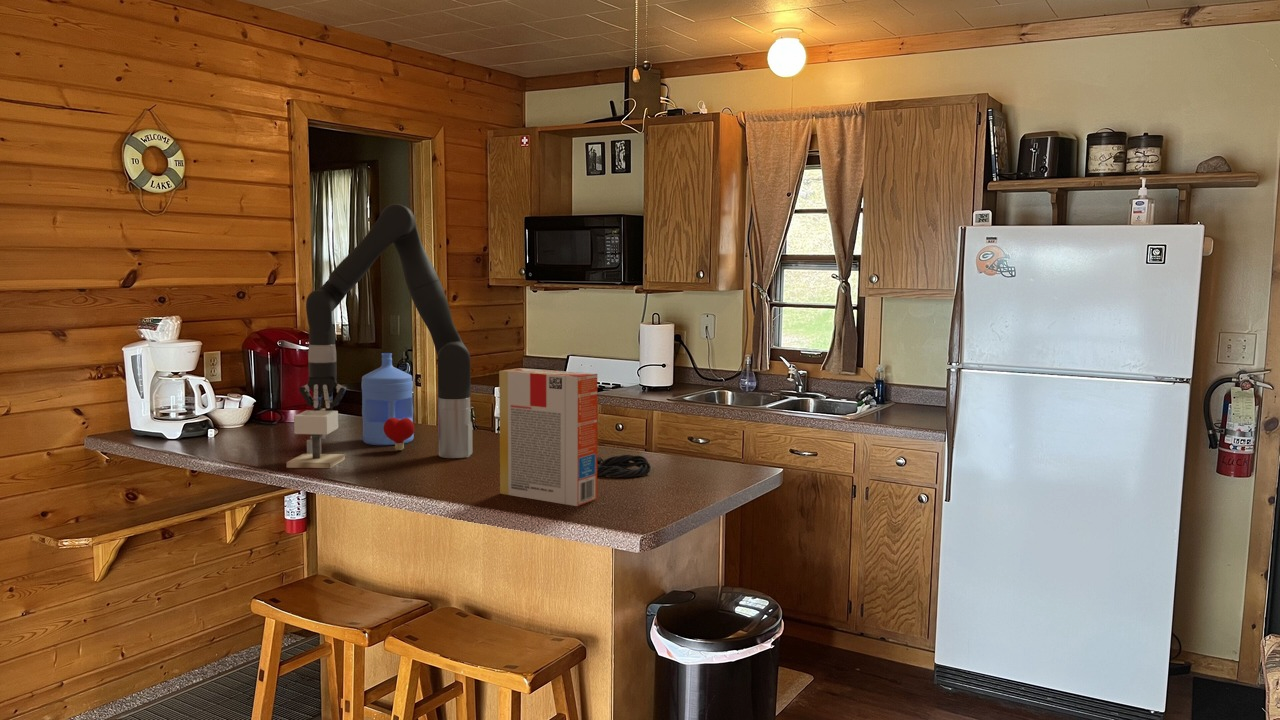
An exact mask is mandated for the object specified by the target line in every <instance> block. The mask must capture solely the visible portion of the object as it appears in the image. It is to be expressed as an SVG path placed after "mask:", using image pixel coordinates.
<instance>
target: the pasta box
mask: <svg viewBox="0 0 1280 720" xmlns="http://www.w3.org/2000/svg"><path fill="white" fill-rule="evenodd" d="M498 373H499V375H498V377H499V383H498V384H499V387H498V389H499V394H498V395H499V494H501V495H507V496H513V497H518V498H519V497H520V498H526V499H531V500H538V501H544V502H549V503H550V502H551V503H556V504H561V505H567V506H574V507H579V506H582V505H585V504H587V503H591V502H593V501H595V500H598V475H597V457H598V373H591V372H578V371H567V370H566V371H564V370H552V369H551V370H550V369H539V368H538V369H537V368H523V367H520V368H519V367H518V368H510V369H504V370H499V372H498Z"/></svg>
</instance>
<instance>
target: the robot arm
mask: <svg viewBox="0 0 1280 720" xmlns="http://www.w3.org/2000/svg"><path fill="white" fill-rule="evenodd" d="M392 244H393V245H394V247H395V249H396V251H397V253H398V256H399V259H400V264H401V267H402V273H403V278H404V281H405V283H406V287H407V290H408V293H409V294H410V296H411V300H412V301H413V304H414V307H415V308H416V311H417V312H418V314H419V315H420V318H421V320H422V321H423V323H424V324H425V326H426V328H427V330H428V331H429V334H430V336H431V338H432V342H433V346H434V349H435V352H436V357H437V406H438V407H437V410H438V411H437V412H438V413H437V415H438V416H437V417H438V420H437V422H438V423H437V424H438V426H437V427H438V429H437V430H438V457H440V458H443V459H444V458H445V459H462V458H470V456H471V455H473V422H472V421H471V385H472V384H471V383H472V382H471V379H472V378H471V373H472V372H471V354H470V351H469V350H468V348H467V347H466V345H465V344H464V342H463V340H462V338H461V336H460V334H459V332H458V331H457V329H456V326H455V324H454V321H453V316H452V314H451V310H450V306H449V302H448V299H447V297H446V296H447V295H446V293H445V289H444V287H443V285H442V283H441V280H440V278H439V276H438V274H437V272H436V270H435V267H434V264H433V263H432V261H431V259H430V258H429V256H428V254H427V252H426V250H425V248H424V245H423V243H422V240H421V236H420V234H419V229H418V226H417V222H416V218H415V215H414V212H413V211H412V210H411V209H410V208H409V207H407V206H405V205H403V204H399V203H392V204H389V205H388V206H386V207H385V208H383V209H382V211H381V213H380V214H379V217H377V220H375V223H374V224H373V226H372V227H371V229H370V230H368V233H367V234H366V235H365V236H364V237H363V239H362V240H361V241H360V242H359V243H358V244H357V245H356V246H355V248H353V249H352V250H351V251H350V252H349V253H348V254H347V255H346V256H345V257H344V259H342V260H341V262H340V263H339V264H338V265H337V266H336V267H335V268H334V270H332V271H331V273H330V274H329V275H328V278H327V280H326V281H325V282H324V284H323V285H322V286H321V287H320V288H319V289H316V290H313V291H311V292H310V293H309V294H308V295H307V298H306V301H305V311H306V316H307V317H306V318H307V325H308V343H309V344H308V354H307V355H308V356H307V360H308V379H307V382H306V383H307V384H305V385H303V386H300V387H299V388H298V389H299V392H300V394H301V396H302V398H303V400H304V401H305V403H306V404H307V406H308V407H313V409H314V410H315V411H319V410H321V409H323V408H322V407H321V406H322V399H323V398H324V401H325V403H324V404H325V408H326V409H325V411H333V408H334V407H337V406H339V404H340V403H341V401H342V399H343V398H344V396H345V393H346V391H347V389H348V387H347V386H343V385H341V384H339V381H338V379H337V378H338V377H337V374H338V373H337V368H338V367H337V349H336V331H335V329H336V328H335V326H334V325H333V317H332V316H333V315H332V313H333V311H335V309H336V308H337V307H338V306H339V305H340V303H341V302H342V301H343V300H344V298H345V297H346V295H347V294H348V292H350V290H352V289H353V288H354V287H355V286H356V285H357V283H358V282H360V281H361V279H362V278H363V277H364V275H365V274H367V272H368V271H369V270H370V268H371V267H372V265H374V263H375V262H376V261H377V259H378V258H379V257H380V255H381V254H382V253H383V252H384V251H385V250H386V249H387V248H388V247H389V246H390V245H392ZM365 276H366V275H365ZM310 390H311V392H312V393H313V396H312V395H311V393H310ZM335 390H336V393H337V394H336V396H335V397H334V396H333V393H334V392H335Z"/></svg>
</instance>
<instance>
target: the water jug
mask: <svg viewBox="0 0 1280 720" xmlns="http://www.w3.org/2000/svg"><path fill="white" fill-rule="evenodd" d="M392 355H393V353H391V352H384V353H383V352H382V353H381V365H380V367H378V368H376V369H374V370H372V371H370V372H368V373H366V374H364V375H363V376H362V377H361V395H362V396H361V397H362V398H361V399H362V400H361V403H362V405H361V407H362V408H361V415H362V441H363V443H365V444H366V445H371V446H372V445H373V446H395V442H394V441H393V440H391V439H390V438H388V437H387V436H386V435H385V433H384V424H385V422H386V421H387V420H388V419H390V418H397V419H399V420H401V419H404V418H408V419H410V420H411V421H412V422H413V423H414V406H413V405H414V403H413V389H414V386H413V385H414V384H413V375H411V374H410V373H407V372H406V371H403V370H402V369H399V368H397V367H394V365H393V358H392ZM414 434H415V432H414V433H413V435H412V436H411V437H410V438H408V439H406V440H404V441H403V442H404V444H408V443H411V442H412V441H413V440H414V438H415V437H414V436H415V435H414Z"/></svg>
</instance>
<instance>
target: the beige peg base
mask: <svg viewBox="0 0 1280 720" xmlns="http://www.w3.org/2000/svg"><path fill="white" fill-rule="evenodd" d="M320 435H321V434H310V436H312V454H307V453H302V454H300V455H298V456H295V457H294V458H292V459H290V460H287V462H286V468H289V469H293V468H295V469H301V468H302V469H331V468H333V467H335V466H336V465H337V464H339V463H342V462H344V460H346V453H320Z"/></svg>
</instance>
